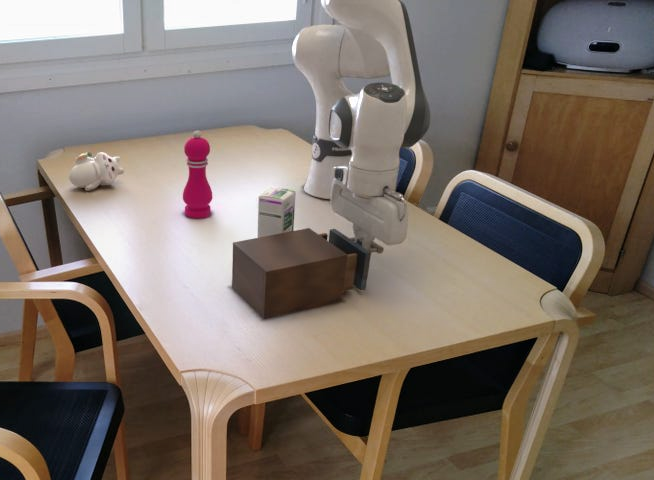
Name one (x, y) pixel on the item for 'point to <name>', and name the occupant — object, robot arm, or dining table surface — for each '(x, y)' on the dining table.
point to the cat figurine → (94, 171)
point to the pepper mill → (197, 178)
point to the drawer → (353, 259)
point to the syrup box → (276, 212)
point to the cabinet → (288, 272)
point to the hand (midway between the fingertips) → (362, 248)
